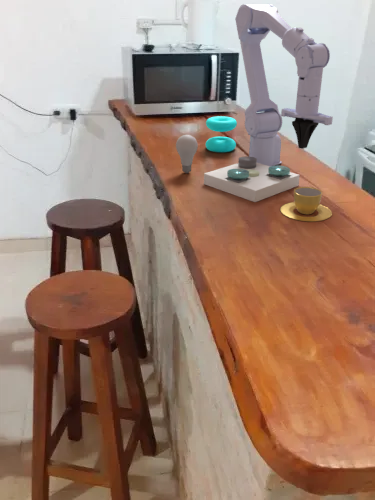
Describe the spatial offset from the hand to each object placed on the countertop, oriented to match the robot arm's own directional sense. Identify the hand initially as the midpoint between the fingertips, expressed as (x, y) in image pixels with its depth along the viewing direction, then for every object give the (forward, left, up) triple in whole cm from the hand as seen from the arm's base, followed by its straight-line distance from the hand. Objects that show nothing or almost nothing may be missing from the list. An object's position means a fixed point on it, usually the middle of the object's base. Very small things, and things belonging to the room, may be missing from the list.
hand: (302, 147), depth 136 cm
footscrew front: (+18, -7, -10) cm, 21 cm away
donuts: (-7, -37, -10) cm, 39 cm away
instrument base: (+12, -7, -9) cm, 17 cm away
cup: (+17, +14, -10) cm, 24 cm away
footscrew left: (+8, -2, -10) cm, 12 cm away
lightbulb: (+18, -26, -10) cm, 33 cm away
